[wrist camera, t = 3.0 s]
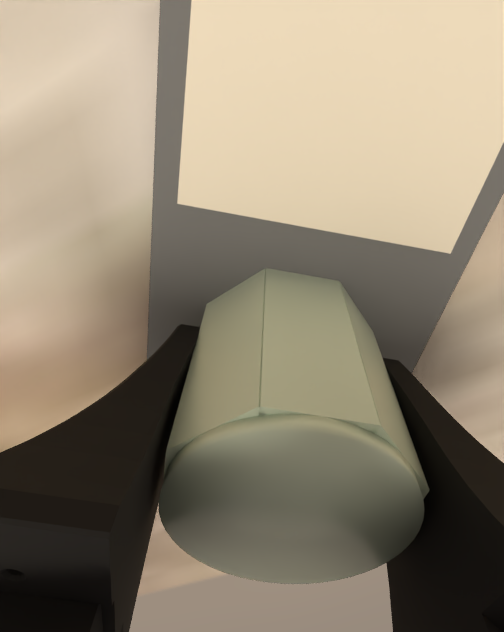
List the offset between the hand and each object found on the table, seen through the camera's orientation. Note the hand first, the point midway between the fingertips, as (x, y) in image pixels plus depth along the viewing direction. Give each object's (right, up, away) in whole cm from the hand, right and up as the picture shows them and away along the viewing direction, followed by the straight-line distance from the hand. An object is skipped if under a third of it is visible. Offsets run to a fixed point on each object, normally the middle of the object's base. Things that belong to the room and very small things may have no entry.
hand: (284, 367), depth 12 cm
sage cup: (0, +1, +1) cm, 1 cm away
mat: (+1, +4, -1) cm, 4 cm away
